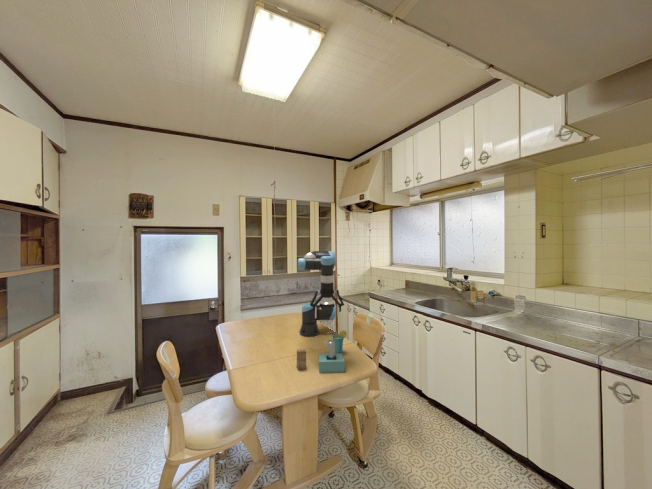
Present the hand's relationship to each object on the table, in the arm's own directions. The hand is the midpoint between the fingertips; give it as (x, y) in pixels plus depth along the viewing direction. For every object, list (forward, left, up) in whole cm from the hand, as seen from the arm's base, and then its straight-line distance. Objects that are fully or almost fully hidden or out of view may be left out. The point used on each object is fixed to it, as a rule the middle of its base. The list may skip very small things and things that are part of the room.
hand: (327, 317), depth 151 cm
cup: (-11, +7, -27) cm, 30 cm away
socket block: (+8, +2, -27) cm, 28 cm away
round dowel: (+8, +2, -27) cm, 28 cm away
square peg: (+7, -15, -27) cm, 31 cm away
